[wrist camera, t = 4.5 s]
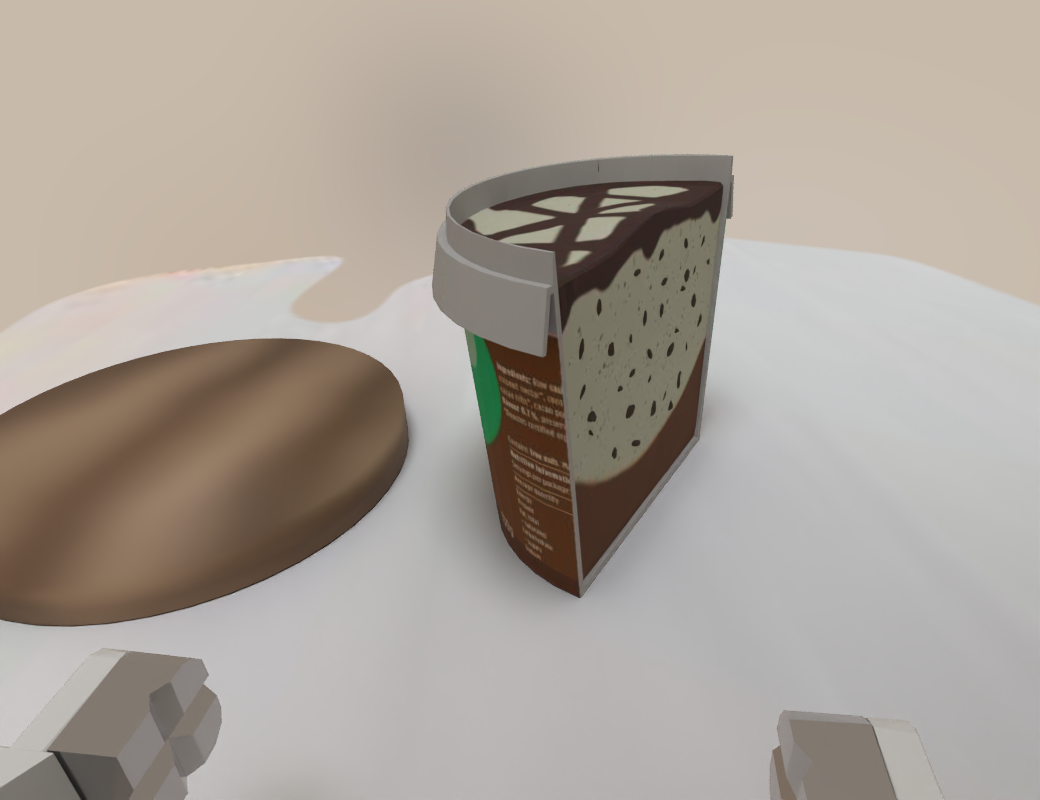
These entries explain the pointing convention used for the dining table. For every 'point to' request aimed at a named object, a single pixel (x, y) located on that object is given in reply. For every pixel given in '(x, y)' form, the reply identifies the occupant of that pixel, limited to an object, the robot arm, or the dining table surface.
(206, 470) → the walnut trivet
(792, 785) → the robot arm
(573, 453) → the food container
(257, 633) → the dining table surface
